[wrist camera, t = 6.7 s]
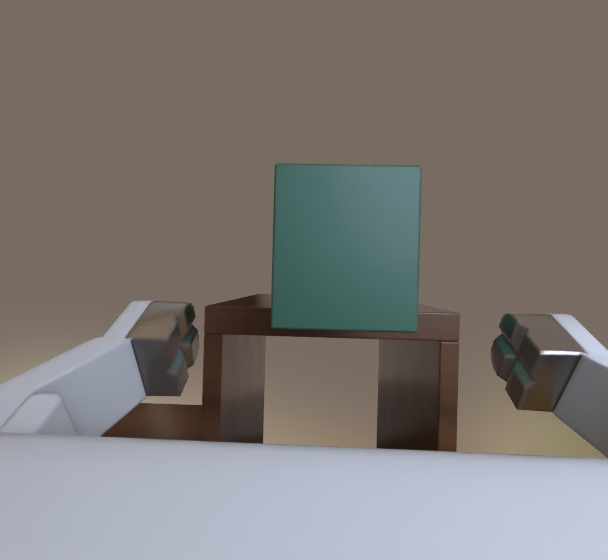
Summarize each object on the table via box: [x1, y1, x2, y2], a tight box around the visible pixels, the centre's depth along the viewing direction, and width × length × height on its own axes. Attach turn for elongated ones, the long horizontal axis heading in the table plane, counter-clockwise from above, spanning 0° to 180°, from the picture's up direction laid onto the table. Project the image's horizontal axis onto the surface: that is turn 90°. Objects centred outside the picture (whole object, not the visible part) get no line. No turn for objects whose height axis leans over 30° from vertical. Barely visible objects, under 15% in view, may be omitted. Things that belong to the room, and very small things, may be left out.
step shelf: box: [100, 294, 460, 452], centre depth 29 cm, size 18×26×26 cm
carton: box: [271, 164, 422, 333], centre depth 22 cm, size 22×4×5 cm, turn 178°
